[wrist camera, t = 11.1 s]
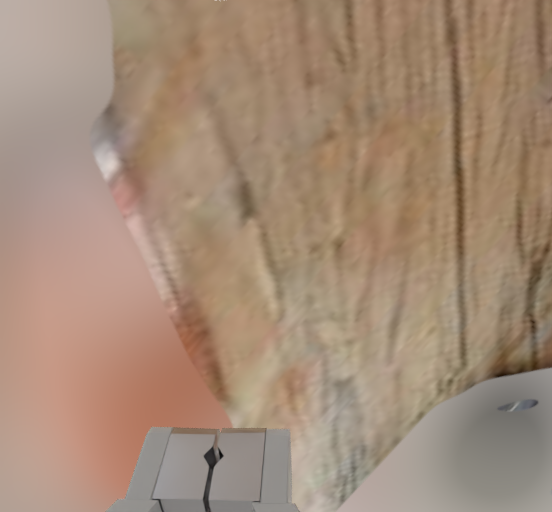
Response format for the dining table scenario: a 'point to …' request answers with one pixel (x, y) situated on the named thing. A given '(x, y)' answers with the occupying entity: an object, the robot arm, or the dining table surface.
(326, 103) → the dining table surface
